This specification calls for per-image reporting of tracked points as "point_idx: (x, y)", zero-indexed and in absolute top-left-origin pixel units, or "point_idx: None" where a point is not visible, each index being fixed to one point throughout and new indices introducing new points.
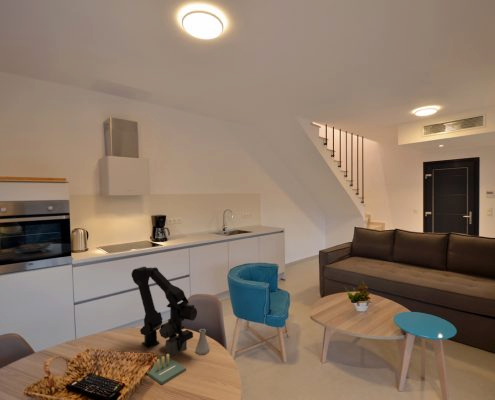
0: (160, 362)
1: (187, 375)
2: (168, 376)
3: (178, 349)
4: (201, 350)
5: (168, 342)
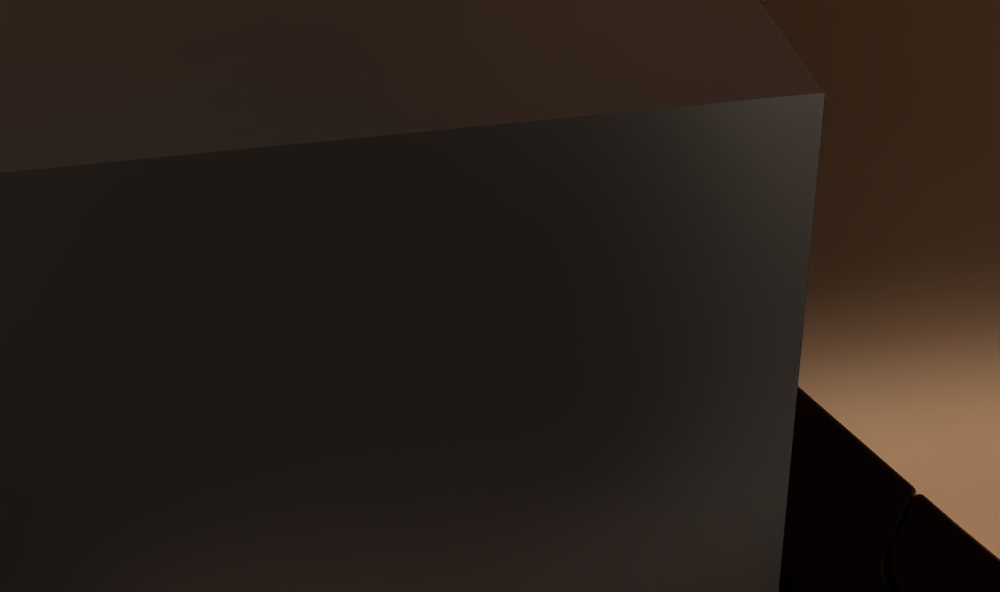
0: None
1: None
2: None
3: None
4: None
5: (4, 143)
